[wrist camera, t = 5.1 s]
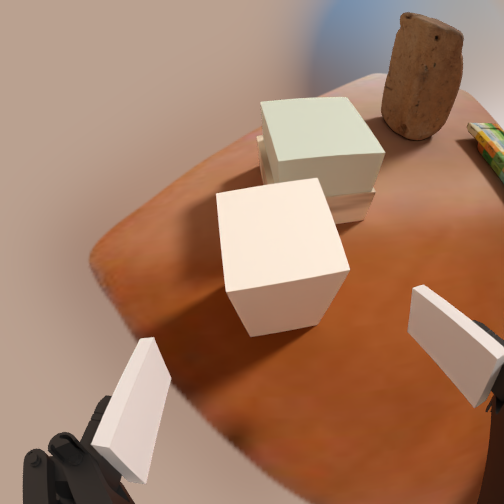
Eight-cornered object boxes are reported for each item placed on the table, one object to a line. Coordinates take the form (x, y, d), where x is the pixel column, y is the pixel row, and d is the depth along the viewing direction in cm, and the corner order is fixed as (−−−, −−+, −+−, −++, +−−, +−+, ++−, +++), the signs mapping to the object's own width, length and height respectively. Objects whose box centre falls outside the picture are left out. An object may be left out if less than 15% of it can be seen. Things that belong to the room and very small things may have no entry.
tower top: (371, 191, 24) (385, 152, 19) (279, 202, 24) (278, 161, 19) (341, 132, 28) (346, 97, 23) (263, 139, 28) (260, 102, 24)
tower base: (363, 221, 28) (375, 192, 24) (273, 234, 28) (272, 205, 24) (335, 158, 33) (341, 128, 28) (259, 167, 33) (256, 136, 28)
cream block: (317, 324, 23) (350, 269, 13) (250, 337, 23) (225, 292, 13) (303, 264, 26) (317, 177, 15) (241, 275, 26) (215, 193, 15)
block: (397, 143, 33) (429, 21, 16) (373, 114, 37) (392, 4, 19) (444, 141, 33) (481, 41, 16) (420, 114, 37) (446, 20, 19)
